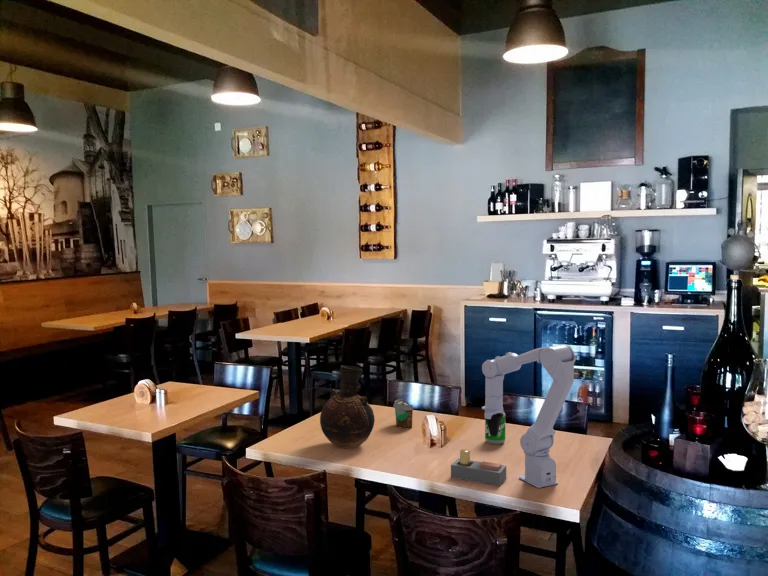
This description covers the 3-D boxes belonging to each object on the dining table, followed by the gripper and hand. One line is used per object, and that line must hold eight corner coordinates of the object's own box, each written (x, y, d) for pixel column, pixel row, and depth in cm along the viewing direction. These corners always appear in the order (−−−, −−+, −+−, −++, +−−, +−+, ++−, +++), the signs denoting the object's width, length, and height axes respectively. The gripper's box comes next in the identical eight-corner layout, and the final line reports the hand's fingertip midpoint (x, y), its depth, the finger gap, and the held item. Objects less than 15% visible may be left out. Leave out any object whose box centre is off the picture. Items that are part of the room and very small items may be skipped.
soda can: (481, 440, 231) (481, 409, 230) (498, 438, 233) (498, 407, 233) (491, 446, 224) (491, 414, 223) (509, 443, 226) (509, 412, 226)
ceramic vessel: (310, 447, 222) (309, 367, 220) (335, 435, 237) (335, 360, 236) (359, 456, 212) (359, 372, 210) (383, 443, 227) (382, 364, 226)
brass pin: (471, 476, 193) (472, 451, 192) (463, 477, 191) (463, 453, 191) (466, 473, 196) (466, 448, 195) (458, 474, 194) (458, 450, 194)
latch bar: (501, 467, 189) (501, 464, 189) (498, 470, 187) (498, 467, 187) (483, 464, 192) (483, 461, 192) (480, 467, 189) (480, 464, 189)
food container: (389, 422, 255) (389, 399, 255) (403, 421, 257) (403, 398, 257) (398, 430, 244) (398, 406, 243) (413, 429, 245) (413, 405, 245)
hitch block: (506, 478, 191) (506, 465, 191) (499, 485, 185) (500, 473, 185) (458, 470, 198) (458, 458, 198) (450, 477, 192) (450, 464, 192)
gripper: (488, 389, 209) (488, 428, 210) (475, 398, 196) (475, 439, 197) (508, 391, 206) (508, 430, 207) (496, 400, 193) (496, 442, 194)
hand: (493, 435), depth 202 cm, fingers closed
